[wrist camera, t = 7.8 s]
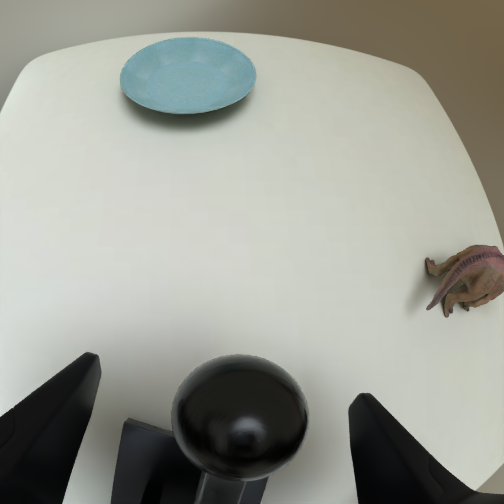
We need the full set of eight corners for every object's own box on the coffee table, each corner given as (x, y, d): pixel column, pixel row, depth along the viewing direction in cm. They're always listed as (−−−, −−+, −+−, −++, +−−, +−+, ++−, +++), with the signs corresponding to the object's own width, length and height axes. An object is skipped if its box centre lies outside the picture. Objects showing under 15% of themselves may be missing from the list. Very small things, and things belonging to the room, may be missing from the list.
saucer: (164, 44, 25) (164, 28, 23) (267, 72, 26) (272, 55, 24) (97, 112, 21) (92, 94, 19) (222, 151, 22) (226, 131, 19)
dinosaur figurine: (484, 252, 24) (547, 221, 16) (493, 306, 23) (562, 284, 14) (396, 252, 22) (480, 202, 13) (407, 325, 20) (503, 301, 11)
